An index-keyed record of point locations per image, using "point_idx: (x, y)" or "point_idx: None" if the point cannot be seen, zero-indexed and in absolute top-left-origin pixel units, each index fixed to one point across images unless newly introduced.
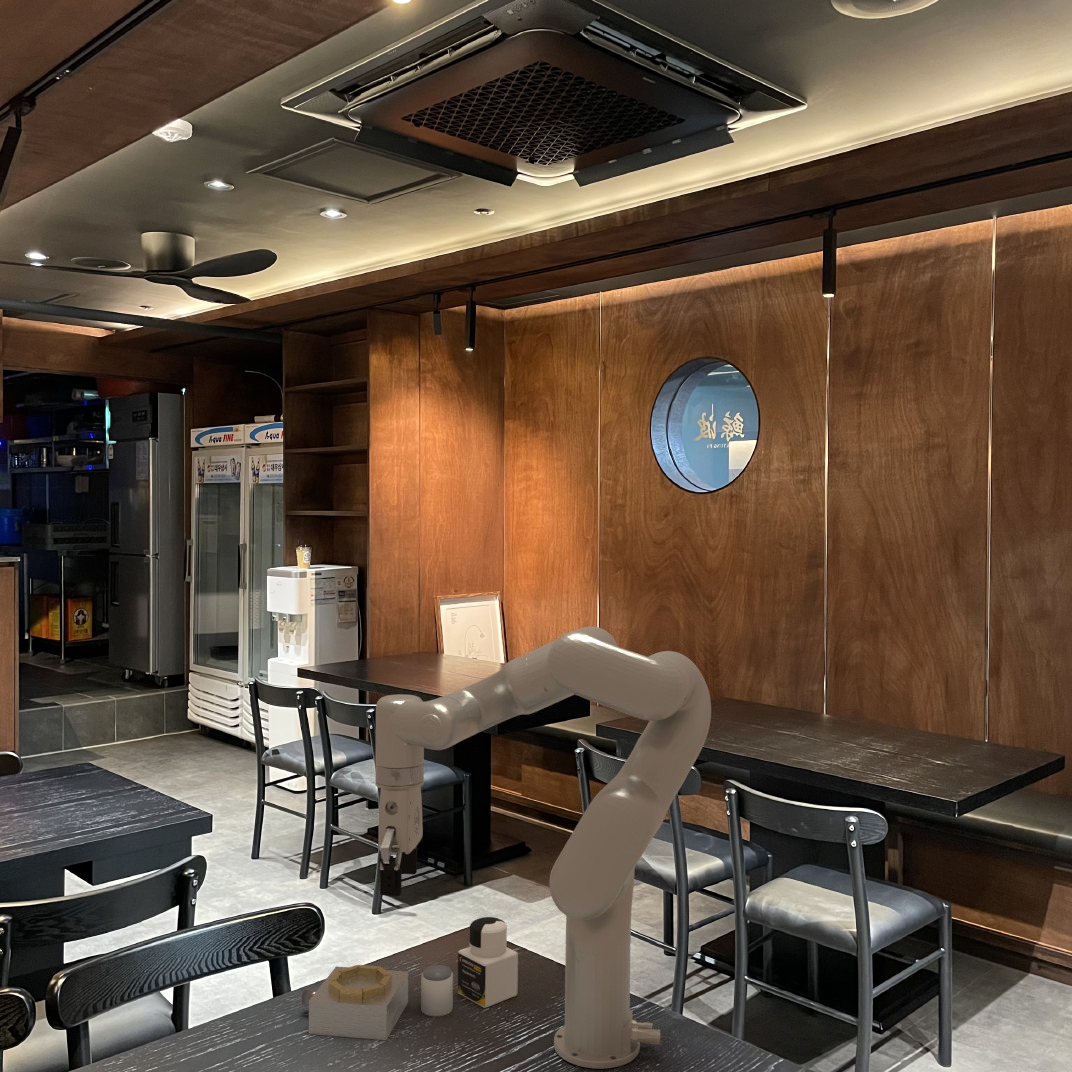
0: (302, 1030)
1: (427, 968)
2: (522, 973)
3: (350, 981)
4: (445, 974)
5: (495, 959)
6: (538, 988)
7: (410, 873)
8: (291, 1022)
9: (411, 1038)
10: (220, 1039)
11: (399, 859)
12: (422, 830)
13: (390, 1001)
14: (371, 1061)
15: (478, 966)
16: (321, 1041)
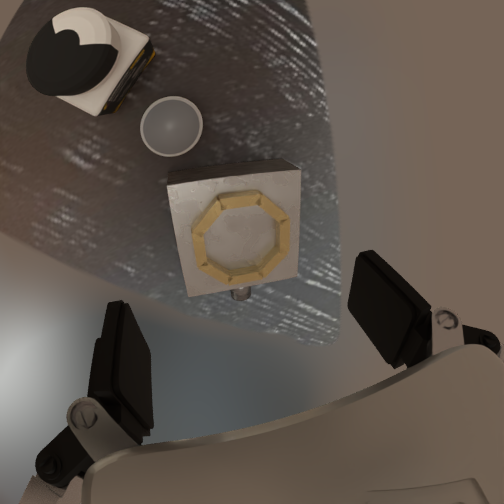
0: None
1: (165, 149)
2: None
3: (230, 256)
4: (182, 105)
5: (122, 27)
6: None
7: (132, 316)
8: None
9: (270, 127)
10: (302, 317)
11: (453, 343)
12: (98, 499)
13: (279, 170)
14: (330, 159)
15: (138, 56)
16: None
